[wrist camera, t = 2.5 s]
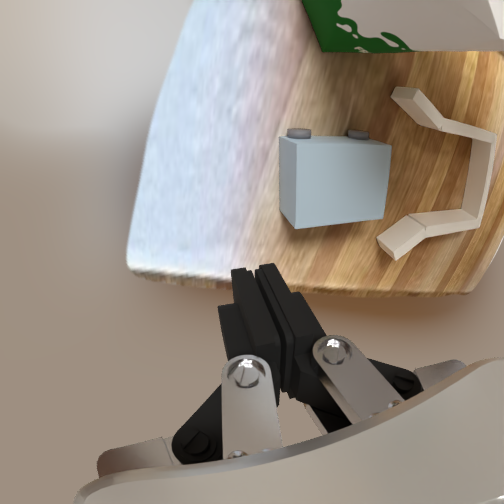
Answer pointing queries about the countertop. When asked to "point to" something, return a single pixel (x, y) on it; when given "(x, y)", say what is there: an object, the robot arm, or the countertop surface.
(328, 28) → the milk carton
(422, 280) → the countertop surface
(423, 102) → the bay
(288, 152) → the grey boxy piece
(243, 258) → the countertop surface
